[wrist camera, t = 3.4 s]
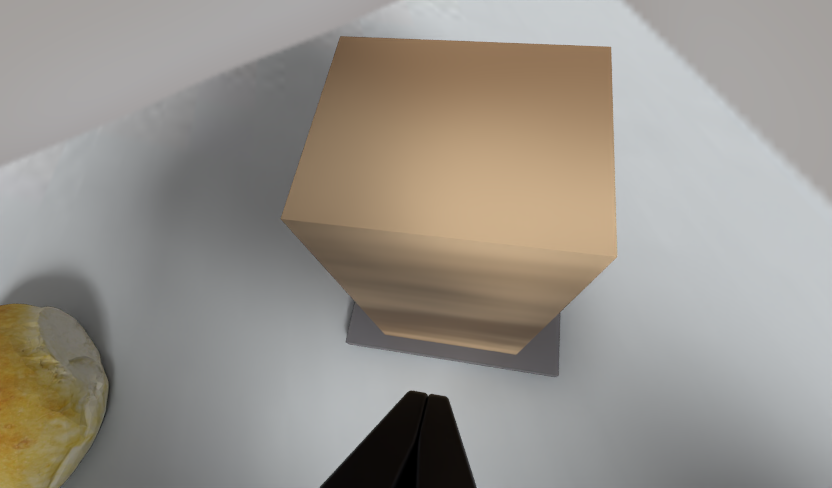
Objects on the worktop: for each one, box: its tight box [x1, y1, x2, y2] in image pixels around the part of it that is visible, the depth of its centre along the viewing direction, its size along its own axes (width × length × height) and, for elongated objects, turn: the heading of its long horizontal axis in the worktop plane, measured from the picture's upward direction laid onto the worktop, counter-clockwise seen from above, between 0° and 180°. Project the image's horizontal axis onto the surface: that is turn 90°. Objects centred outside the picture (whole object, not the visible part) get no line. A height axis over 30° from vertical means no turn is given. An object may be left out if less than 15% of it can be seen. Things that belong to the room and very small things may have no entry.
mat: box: [346, 302, 560, 377], centre depth 18 cm, size 14×8×1 cm, turn 172°
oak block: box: [281, 36, 617, 355], centre depth 11 cm, size 4×5×10 cm
